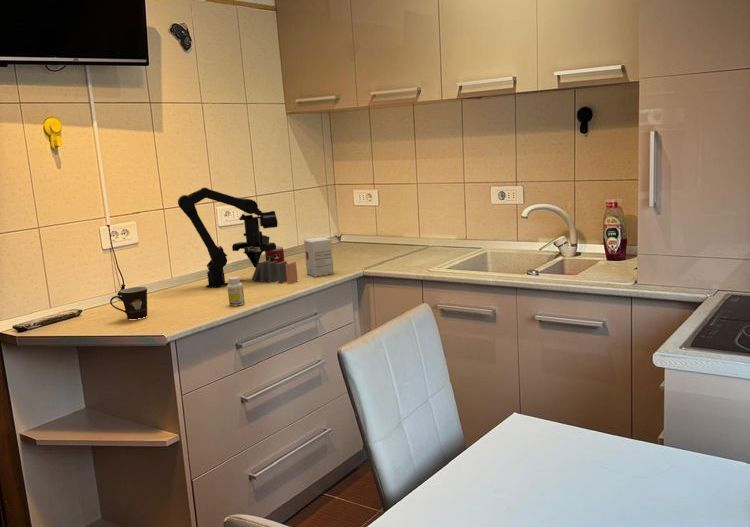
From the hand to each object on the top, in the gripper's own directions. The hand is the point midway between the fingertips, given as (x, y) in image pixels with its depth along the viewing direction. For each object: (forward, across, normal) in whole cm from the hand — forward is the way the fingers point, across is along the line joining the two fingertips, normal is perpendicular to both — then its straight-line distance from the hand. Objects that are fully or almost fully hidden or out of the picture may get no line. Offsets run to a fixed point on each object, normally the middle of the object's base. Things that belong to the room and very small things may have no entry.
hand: (256, 267), depth 288 cm
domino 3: (+6, -9, 0) cm, 10 cm away
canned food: (+6, +1, -15) cm, 16 cm away
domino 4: (+6, -13, 0) cm, 14 cm away
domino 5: (+6, -18, 0) cm, 19 cm away
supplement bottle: (+6, -18, +36) cm, 41 cm away
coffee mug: (+6, +7, +61) cm, 62 cm away
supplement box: (+6, -21, -16) cm, 27 cm away
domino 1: (+5, 0, 0) cm, 5 cm away
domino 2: (+6, -4, 0) cm, 7 cm away
